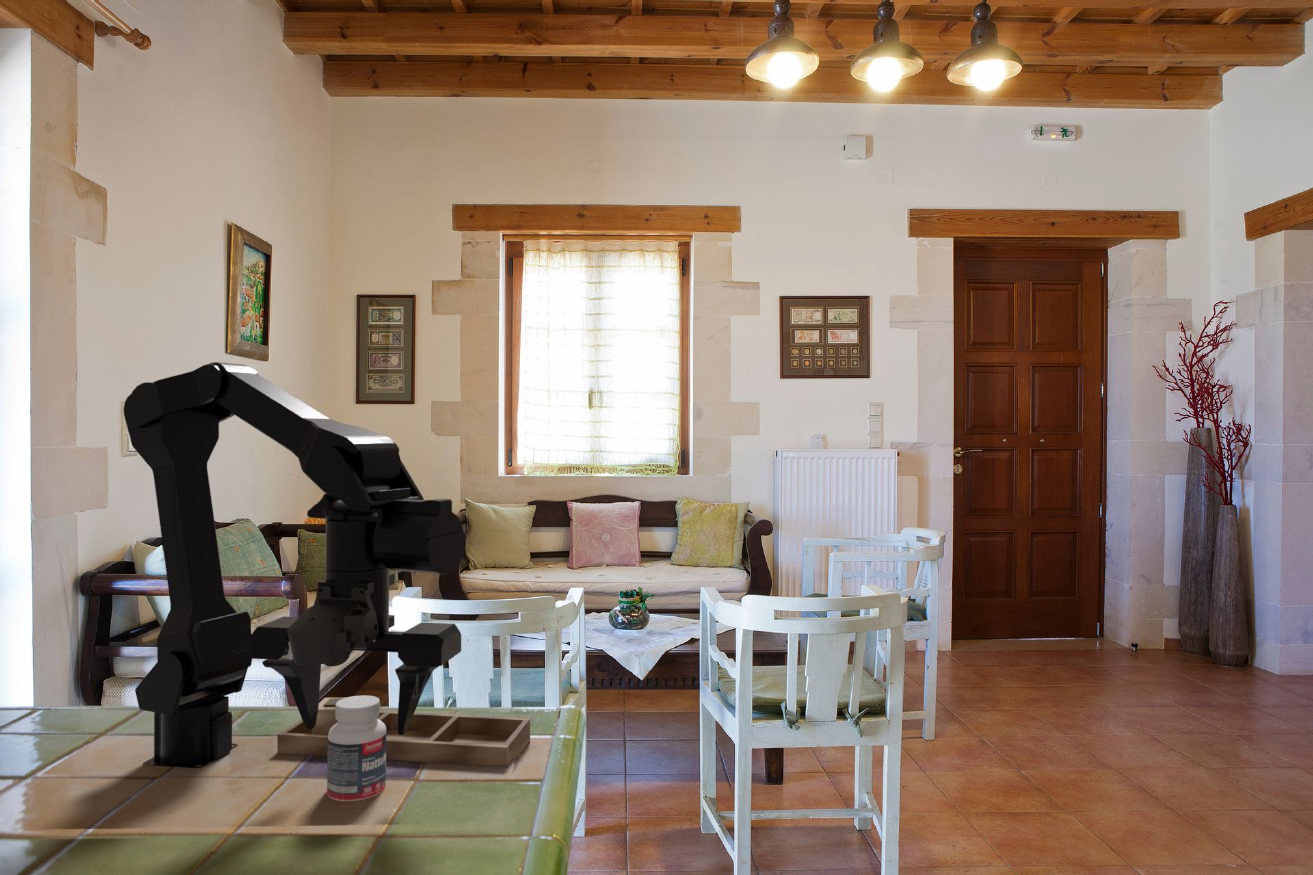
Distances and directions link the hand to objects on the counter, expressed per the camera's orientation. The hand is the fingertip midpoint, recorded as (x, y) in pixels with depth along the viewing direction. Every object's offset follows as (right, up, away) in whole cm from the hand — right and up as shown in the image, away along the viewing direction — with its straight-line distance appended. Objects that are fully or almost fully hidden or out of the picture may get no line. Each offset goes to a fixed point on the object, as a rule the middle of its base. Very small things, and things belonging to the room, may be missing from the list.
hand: (356, 730), depth 80 cm
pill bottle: (0, -6, 0) cm, 6 cm away
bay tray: (+2, -6, +11) cm, 13 cm away
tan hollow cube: (-7, -5, +12) cm, 15 cm away
